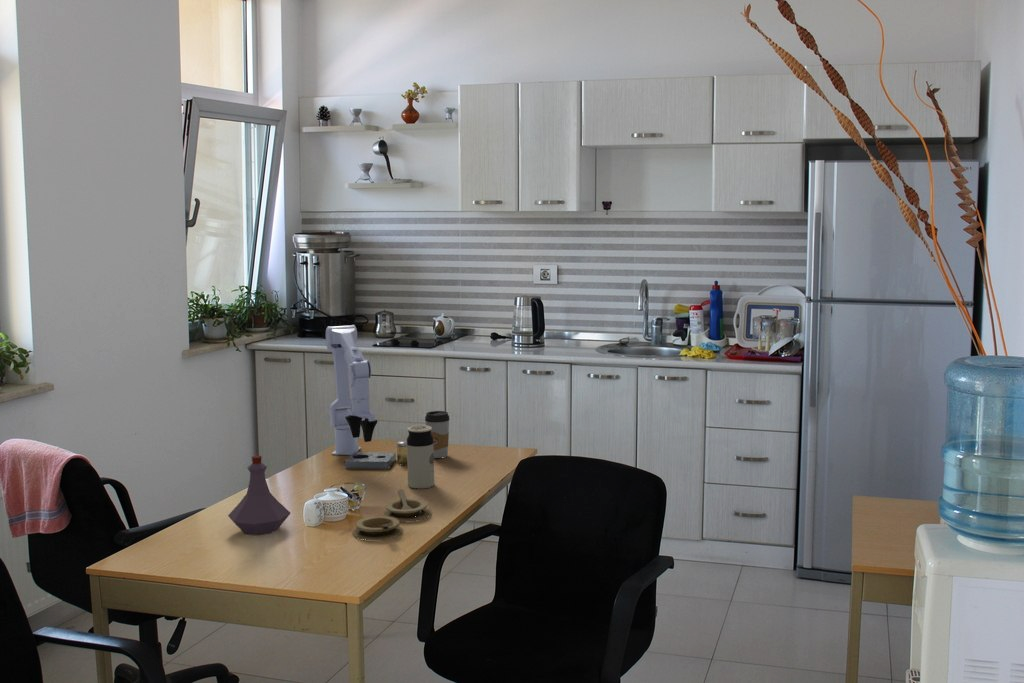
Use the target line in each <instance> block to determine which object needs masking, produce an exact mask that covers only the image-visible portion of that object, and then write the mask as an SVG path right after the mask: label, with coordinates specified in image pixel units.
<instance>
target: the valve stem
mask: <svg viewBox="0 0 1024 683" xmlns="http://www.w3.org/2000/svg"><path fill="white" fill-rule="evenodd" d="M396 457H397V458H396V460H397V461H396V462H397V465H400V464H403V465H404V464H406V465H408V463H407V440H399V441H397V442H396ZM403 465H402V466H403Z"/></svg>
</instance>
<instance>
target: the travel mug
mask: <svg viewBox="0 0 1024 683" xmlns="http://www.w3.org/2000/svg"><path fill="white" fill-rule="evenodd" d="M431 430H432V427H430V426H426V424H423V425H411V426H409V427H407V432H408V435H407V437H406V441H407V463H408V464H407V486H408V487H410V488H411V489H416V488H417V490H423V488H425V489H430V488H431V486H432V487H433V486H434V485H435V467H434V466H435V462H434V460H435V459H434V451H433V437H432V435H431Z"/></svg>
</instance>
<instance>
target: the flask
mask: <svg viewBox="0 0 1024 683" xmlns="http://www.w3.org/2000/svg"><path fill="white" fill-rule="evenodd" d="M251 461H252V463H251V464H249V465H248V466H247V470H248V471H249V474H250V476H249V482H248V487H247V492H246V494H245V495H244V496H243V497H242V499H241V500H240V502H238V504H237V505H236V506H235V507H234V508H233V509H232V511H230V513H229V514H228V515H227V517H228V518H229V519H230V520H231V521H232V523H234V524H235V526H236V527H238V528H239V529H240V531H242V533H244V535H247V536H248V535H249V536H256V537H257V536H264V535H269V534H272V533H275V532H276V531H278V529H279V528H280V527H281V526H283V524H284V522H285V521H286V520H287V519H288V517H289V516H290V515H291V512H290V510H288V508H286V507H285V506H284V505H283V504H282V503H280V502H279V500H278V499H276V497H275V496H274V495H273V494H272V493H271V492H270V489H269V486H268V482H267V480H266V476H265V475H266V473H265V472H266V470H267V468H268V467H267V465H266V464H264V463H263V462H262V456H261V455H253V456H251Z"/></svg>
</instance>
